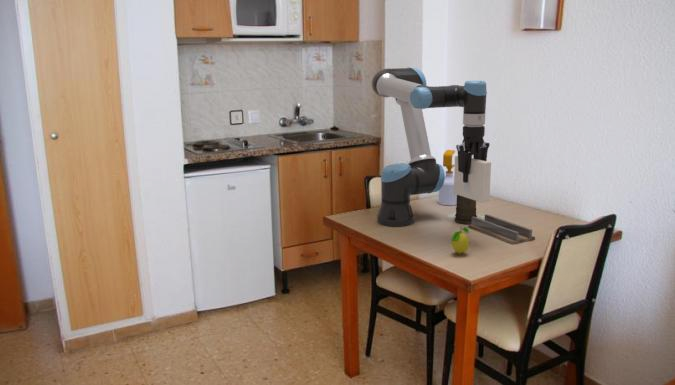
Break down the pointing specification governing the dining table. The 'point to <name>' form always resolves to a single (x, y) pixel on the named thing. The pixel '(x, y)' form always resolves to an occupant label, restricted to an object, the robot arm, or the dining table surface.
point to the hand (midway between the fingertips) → (471, 190)
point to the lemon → (460, 241)
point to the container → (465, 210)
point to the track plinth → (502, 229)
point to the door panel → (474, 180)
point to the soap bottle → (448, 182)
